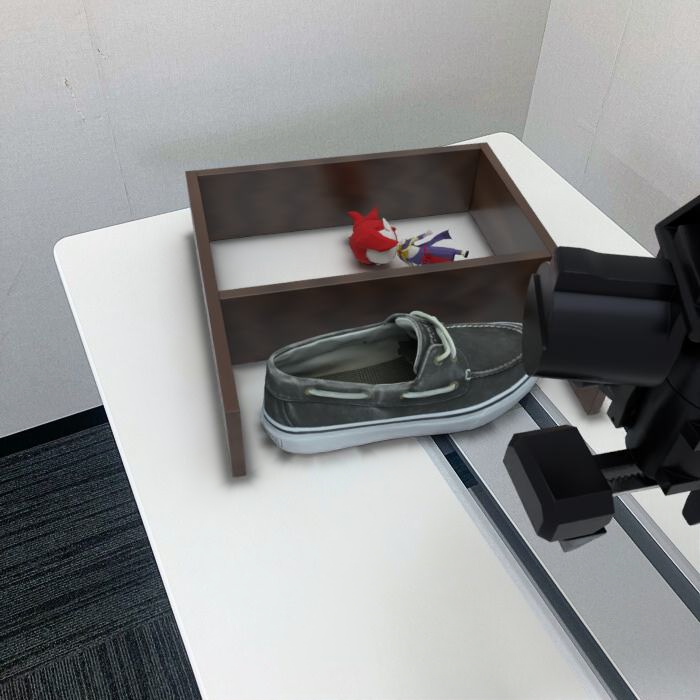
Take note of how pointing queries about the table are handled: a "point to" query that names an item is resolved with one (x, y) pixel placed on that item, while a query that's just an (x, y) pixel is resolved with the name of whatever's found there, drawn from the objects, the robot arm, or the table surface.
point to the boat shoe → (392, 382)
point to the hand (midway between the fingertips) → (626, 532)
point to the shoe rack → (368, 287)
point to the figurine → (395, 243)
